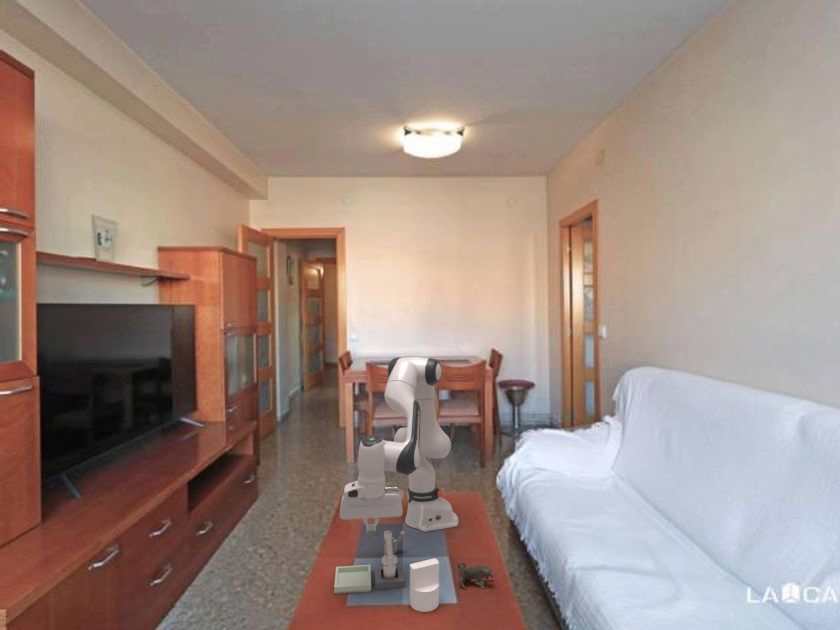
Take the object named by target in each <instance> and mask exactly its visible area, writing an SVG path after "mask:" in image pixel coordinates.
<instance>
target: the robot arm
mask: <svg viewBox="0 0 840 630" xmlns="http://www.w3.org/2000/svg"><path fill="white" fill-rule="evenodd" d="M441 376H442V365H441V363H440V361H439V360H438V359H435V358H432V357H429V358H428V357H427V358H426V357H420V356H413V357H411V356H410V357H401V356H399V357H394V358H392V359H391V360H390V361H389V363H388V366H387V377H388V380H387V382H386V385H385V389H384V393H383V395H384V397H383V398H384V400H385V403H386V404H387V406H388V407H389V408H390V410H391V409H392V410H393V411H394V412H395V413H398V414H399V415H402V416H403V417H404V418H406V420H407V422H406V427H400V428H399V429H398V430H396V433H395V435H394V437H393V438H394V440H393V441H391V440H384V438H383V437H382V436H380V435H374V434H373V435H367V436H365V437H362V439H361V440H360V443H359V448H358V457H357V467H358V477H357V479H356V480H355V481H352V482H349V483H348V484H347V483H346V484H345V486H344V488H343V495H342V497H341V502H340V507H339V508H340V509H339V518H340V519H341V520H357V519H358V520H359V519H363V523H364V525H365V527H366V532H376V530H377V525H378V523H379V521H380V519H381V518H400V517H401V516H402V515H403V512H404V510H403V504H402V503H403V502H402V500H403V499H404V490H403V489H402V488H401V487H399V486H394V487H391V486H386V476H385V471H387V472H393V473H398V474H401V475H402V474H403V475H406V476H408V487H407V502H408V503H407V511H406V515H405V519H404V522H405V524H406V525H407V526H409V527H411V528H413V529H417V530H419V531H421V532H431V531H438V530H444V529H450V528H456V527H458V526H459V517H458V515H457V513H455V512H454V510H453V507H452V505H451V503H449V501H448V500H446V499H445V498H444V497H442V496H443V492H442V491H441V490H440V488H439V487H438V486H436V472H435V469H434V466H433V465H432V464H431V463H430V462H428V460H427V459H426V458H430V459H444V458H446V457H447V456H448V455H449V453H450V451H451V448H452V443H451V439H450V437H449V436H448V434H446V433H445V432H444V430H443V429H442V427H441V425H440V423H439V422H438V419H437V418H438V417H437V415H436V397H435V393H436V392H435V385H436V384H437V383H438V382H439V381H440V380H441ZM369 519H374V522H373V523H369V522H368V520H369Z"/></svg>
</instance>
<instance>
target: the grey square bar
mask: <svg viewBox="0 0 840 630" xmlns="http://www.w3.org/2000/svg"><path fill="white" fill-rule="evenodd" d="M392 537H393V532H392V530H391V529H389V530H384V531H383V542H384V543H385V542H386V550H387V560H388V566H393V555H394V553H393V551H392V543H391V541H392Z"/></svg>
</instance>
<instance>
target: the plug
mask: <svg viewBox="0 0 840 630" xmlns="http://www.w3.org/2000/svg"><path fill="white" fill-rule="evenodd" d="M397 563H398V557H397V555H396V554H395V555H394V554H393V566H388V560H387V555H385V556H384V555H383V556H382V557H381V564H382V566H383V575H382V579H390V578H397V576H396V575H397V574H396V565H398V564H397Z"/></svg>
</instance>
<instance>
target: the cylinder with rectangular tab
mask: <svg viewBox="0 0 840 630" xmlns="http://www.w3.org/2000/svg"><path fill="white" fill-rule="evenodd" d="M409 604H410V606H411V609H413V610H415V611H417V612H422V613H429V612H432V611H434V610H436V609H437V608H438V607H439V606H440V562H439V559H437V558H435V557H434V558H431V559H430V558H429V559H426V560H422V561H418V562H414V563H410V564H409Z"/></svg>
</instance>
